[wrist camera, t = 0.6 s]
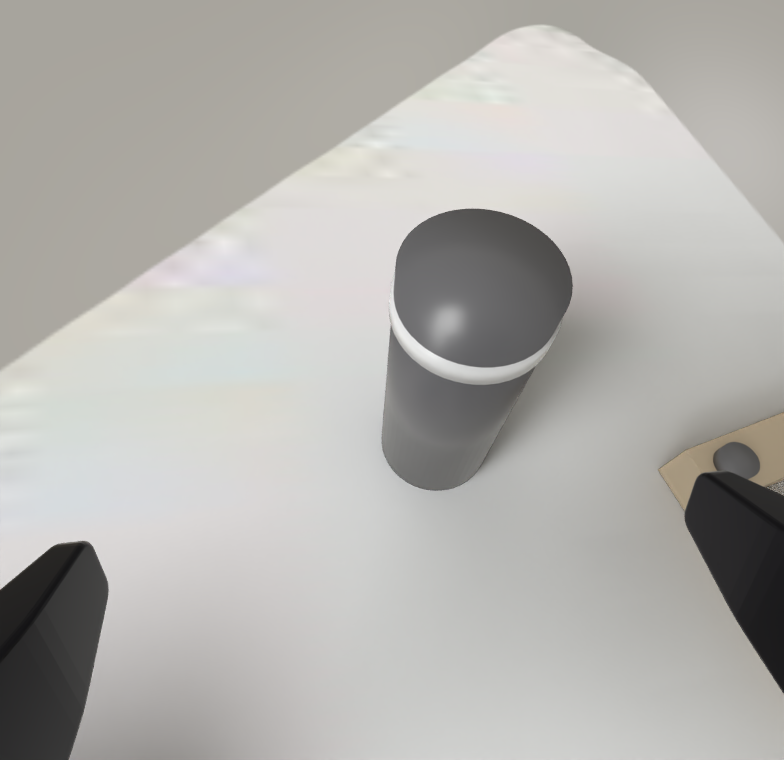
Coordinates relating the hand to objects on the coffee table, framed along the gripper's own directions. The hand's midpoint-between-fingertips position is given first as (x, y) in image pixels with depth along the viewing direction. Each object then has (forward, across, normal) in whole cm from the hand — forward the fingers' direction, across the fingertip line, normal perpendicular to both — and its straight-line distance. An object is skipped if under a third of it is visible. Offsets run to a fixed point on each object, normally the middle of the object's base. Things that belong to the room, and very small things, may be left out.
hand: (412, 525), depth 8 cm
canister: (+14, -4, +9) cm, 18 cm away
